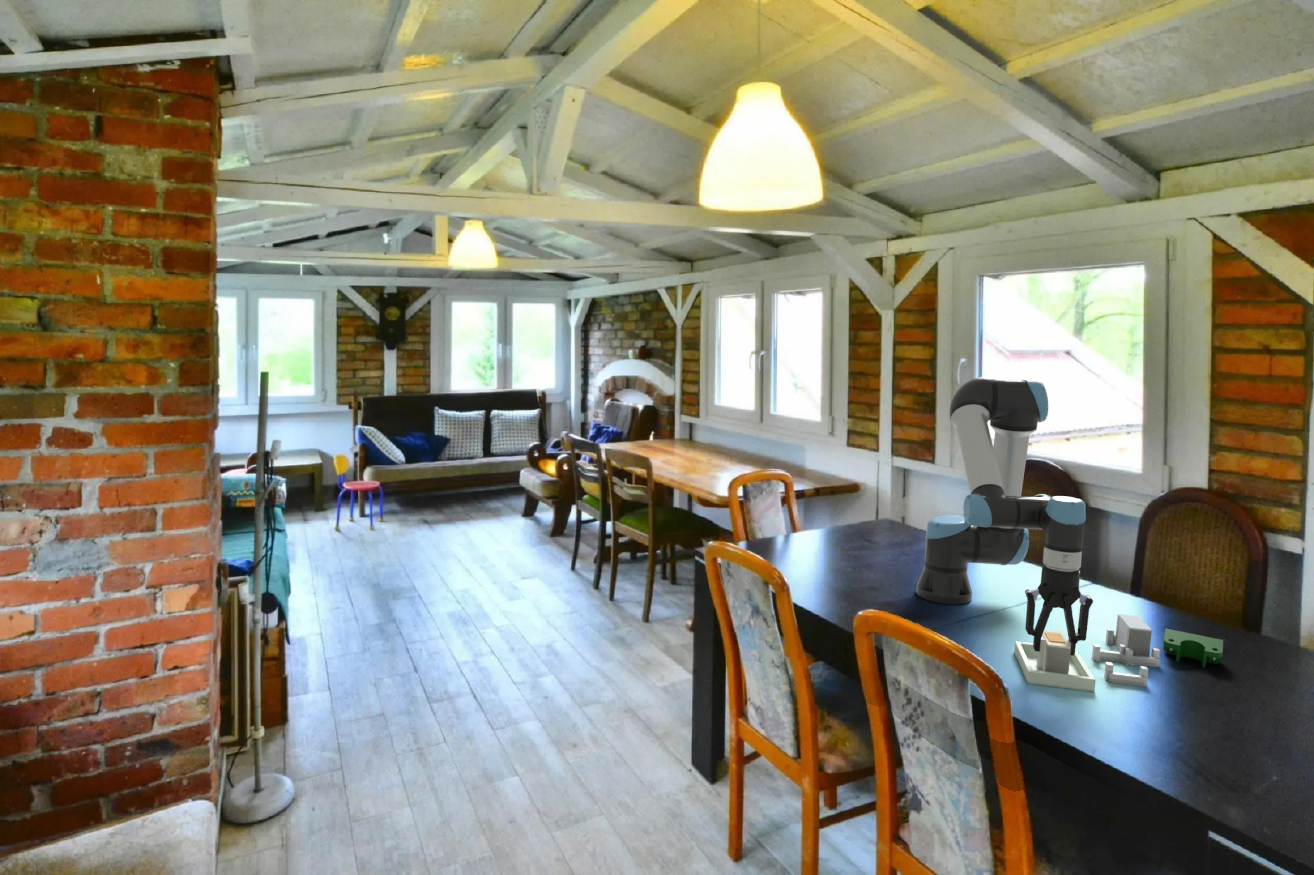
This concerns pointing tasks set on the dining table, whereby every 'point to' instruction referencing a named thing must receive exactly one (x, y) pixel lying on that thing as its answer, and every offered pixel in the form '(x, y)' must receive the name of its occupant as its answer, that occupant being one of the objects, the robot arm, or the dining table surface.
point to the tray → (1034, 674)
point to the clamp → (1193, 646)
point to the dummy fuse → (1133, 634)
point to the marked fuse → (1056, 652)
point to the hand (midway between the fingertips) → (1052, 666)
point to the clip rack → (1127, 658)
